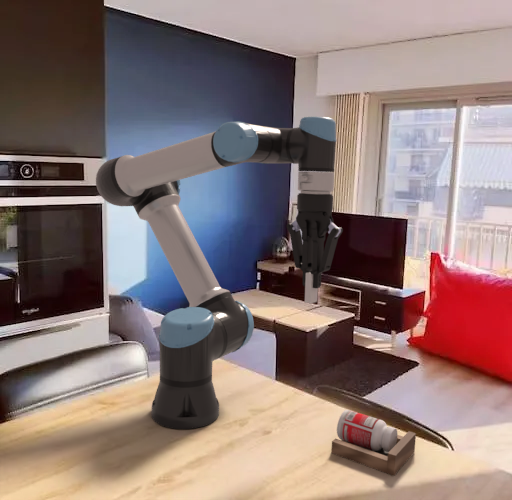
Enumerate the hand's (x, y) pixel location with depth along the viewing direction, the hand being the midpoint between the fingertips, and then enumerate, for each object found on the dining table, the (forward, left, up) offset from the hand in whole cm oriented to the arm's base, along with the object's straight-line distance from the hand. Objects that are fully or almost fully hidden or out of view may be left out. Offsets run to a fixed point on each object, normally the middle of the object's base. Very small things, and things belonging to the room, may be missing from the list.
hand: (310, 301), depth 118 cm
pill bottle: (+10, -3, -24) cm, 26 cm away
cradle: (+17, -4, -27) cm, 32 cm away
